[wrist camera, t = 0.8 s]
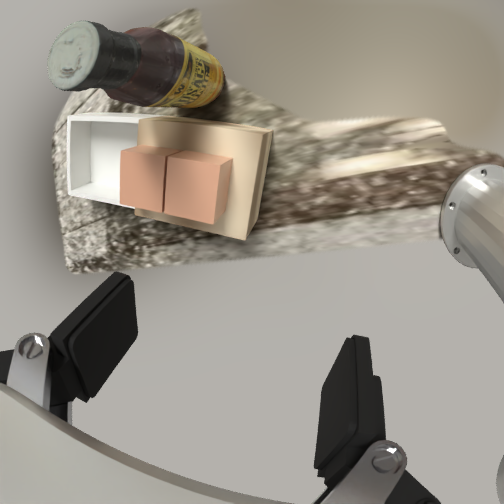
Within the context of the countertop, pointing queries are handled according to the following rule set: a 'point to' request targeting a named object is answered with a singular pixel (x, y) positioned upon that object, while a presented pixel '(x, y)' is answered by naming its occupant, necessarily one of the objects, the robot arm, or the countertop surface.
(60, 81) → the sauce bottle
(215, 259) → the countertop surface
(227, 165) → the block
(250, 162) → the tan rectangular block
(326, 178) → the countertop surface
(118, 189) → the box
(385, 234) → the countertop surface
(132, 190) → the block
